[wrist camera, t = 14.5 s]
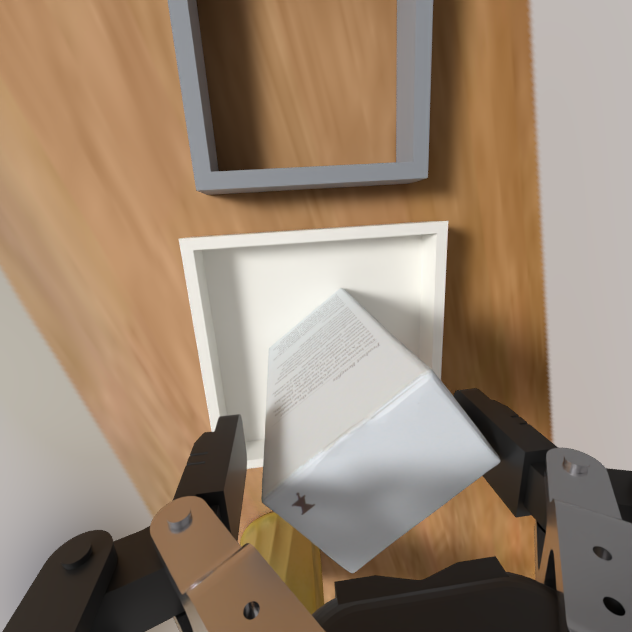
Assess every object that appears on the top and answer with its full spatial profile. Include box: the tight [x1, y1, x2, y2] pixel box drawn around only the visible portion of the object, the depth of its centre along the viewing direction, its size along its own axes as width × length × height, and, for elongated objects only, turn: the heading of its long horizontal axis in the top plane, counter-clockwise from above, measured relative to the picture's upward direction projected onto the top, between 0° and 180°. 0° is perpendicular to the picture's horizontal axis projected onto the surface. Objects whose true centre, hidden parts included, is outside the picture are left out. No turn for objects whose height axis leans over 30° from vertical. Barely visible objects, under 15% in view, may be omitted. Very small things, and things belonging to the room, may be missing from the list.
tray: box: [179, 221, 448, 469], centre depth 20 cm, size 14×14×2 cm
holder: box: [168, 0, 433, 195], centre depth 16 cm, size 12×12×2 cm
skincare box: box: [262, 288, 500, 573], centre depth 15 cm, size 6×4×12 cm
